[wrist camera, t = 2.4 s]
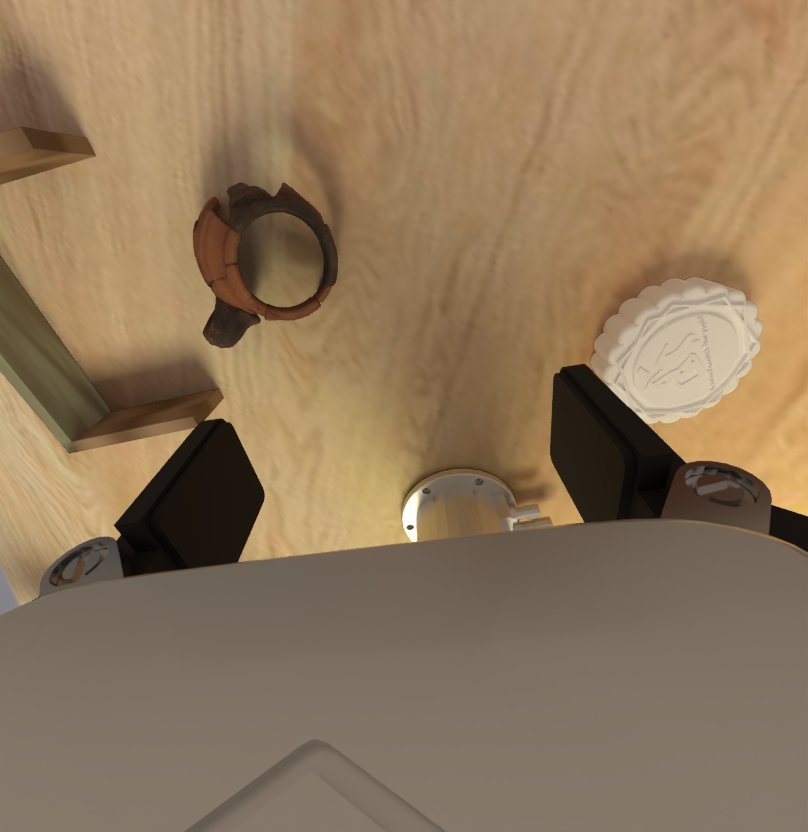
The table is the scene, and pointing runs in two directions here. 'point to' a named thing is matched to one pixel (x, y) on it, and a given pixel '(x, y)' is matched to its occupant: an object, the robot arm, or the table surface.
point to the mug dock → (45, 353)
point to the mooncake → (677, 348)
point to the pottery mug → (222, 270)
